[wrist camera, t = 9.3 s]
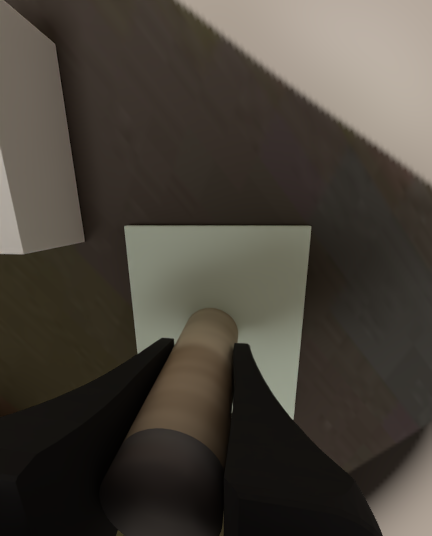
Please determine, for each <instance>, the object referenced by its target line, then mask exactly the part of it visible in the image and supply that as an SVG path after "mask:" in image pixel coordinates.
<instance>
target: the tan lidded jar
mask: <svg viewBox="0 0 432 536" xmlns="http://www.w3.org/2000/svg"><path fill="white" fill-rule="evenodd" d="M234 343H238V328H237V325H236V323H235V321H234V320H233V318H232V317H231V316H230V315H228V314H227V313H226V312H224V311H222V310H219V309H216V308H204V309H201V310H198V311H196V312H195V313H194V314H192V315H191V317H190V318H189V320H188V321H187V323H186V325H185V327H184V329H183V331H182V333H181V334H180V336H179V338H178V340H177V342H176V344H175V346H174V348H173V349H172V351H171V353H170V355H169V357H168V359H167V361H166V362H165V364H164V366H163V368H162V370H161V372H160V374H159V376H158V377H157V379H156V381H155V383H154V385H153V387H152V389H151V391H150V392H149V394H148V396H147V398H146V400H145V402H144V404H143V406H142V407H141V409H140V411H139V413H138V415H137V417H136V419H135V421H134V422H133V424H132V426H131V428H130V430H129V432H128V434H127V436H126V437H125V439H124V441H123V443H122V445H121V447H120V449H119V450H118V452H117V454H116V456H115V458H114V460H113V462H112V464H111V465H110V467H109V469H108V471H107V473H106V475H105V477H104V479H103V480H102V483H101V485H100V490H99V498H100V503H101V506H102V509H103V511H104V513H105V515H106V516H107V518H108V519H109V520H110V522H111V523H112V524H113V525H114V526H115V527H116V528H117V529H118V530H119V531H120V532H121V533H123V534H124V535H125V536H219V534H220V532H221V529H222V523H223V511H224V473H225V466H226V459H227V451H228V444H229V435H230V427H231V415H232V403H233V349H234Z"/></svg>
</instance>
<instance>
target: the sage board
mask: <svg viewBox="0 0 432 536" xmlns="http://www.w3.org/2000/svg"><path fill="white" fill-rule="evenodd" d="M124 230H125V239H126V249H127V258H128V268H129V277H130V286H131V296H132V305H133V315H134V324H135V334H136V343H137V352H138V353H140V352H141V351H143V350H144V349H146V348H147V347H149V346H150V345H151V344H153V343H154V342H156V341H157V340H159V339H161V338H174V346H175V344H176V342H177V340H178V338H179V336H180V334H181V333H182V331H183V329H184V327H185V325H186V323H187V321H188V320H189V318H190V317H191V315H192V314H194V313H195V312H196V311H198V310H201V309H204V308H216V309H219V310H222V311H224V312H226V313H227V314H228V315H230V316H231V317H232V318H233V320H234V321H235V323H236V325H237V328H238V343H246V344H249V345H250V349H251V352H252V355H253V357H254V360H255V362H256V364H257V367H258V368H259V370H260V372H261V374H262V376H263V378H264V380H265V382H266V383H267V385H268V386H269V388H270V390H271V391H272V393H273V394H274V396H275V397H276V399H277V400H278V402H279V403H280V404H281V406H282V407H283V408H284V410H285V411H286V412H287V413H288V415H289V416H290V417H291V418H292V419H294V409H295V398H296V387H297V376H298V366H299V355H300V344H301V333H302V323H303V312H304V301H305V290H306V280H307V269H308V258H309V247H310V237H311V226H309V225H128V226H124ZM232 409H233V403H232Z"/></svg>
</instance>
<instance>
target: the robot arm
mask: <svg viewBox="0 0 432 536" xmlns="http://www.w3.org/2000/svg"><path fill="white" fill-rule="evenodd" d="M173 348H174V338H161V339H159V340H157V341H156V342H154V343H153V344H151V345H150V346H149V347H147V348H146V349H144V350H143V351H141V352H140V353H138V354H137V355H135V356H134V357H132V358H131V359H129V360H128V361H126V362H125V363H123V364H121V365H120V366H118V367H116V368H115V369H113V370H112V371H110V372H108V373H106V374H105V375H103V376H101V377H99V378H97V379H95V380H93V381H91V382H90V383H88V384H86V385H84V386H81V387H79V388H77V389H75V390H72V391H70V392H68V393H66V394H63V395H61V396H59V397H57V398H54V399H52V400H49V401H46V402H44V403H41V404H39V405H36V406H33V407H30V408H27V409H25V410H22V411H19V412H16V413H13V414H9V415H6V416H3V417H0V536H116V534H117V530H118V529H117V528H116V527H115V526H114V525H113V524H112V523H111V522H110V520H109V519H108V518H107V516H106V515H105V513H104V511H103V509H102V506H101V503H100V498H99V490H100V485H101V483H102V480H103V479H104V477H105V475H106V473H107V471H108V469H109V467H110V465H111V464H112V462H113V460H114V458H115V456H116V454H117V452H118V450H119V449H120V447H121V445H122V443H123V441H124V439H125V437H126V436H127V434H128V432H129V430H130V428H131V426H132V424H133V422H134V421H135V419H136V417H137V415H138V413H139V411H140V409H141V407H142V406H143V404H144V402H145V400H146V398H147V396H148V394H149V392H150V391H151V389H152V387H153V385H154V383H155V381H156V379H157V377H158V376H159V374H160V372H161V370H162V368H163V366H164V364H165V362H166V361H167V359H168V357H169V355H170V353H171V351H172V349H173ZM224 536H383V535H382V533H381V530H380V528H379V526H378V523H377V521H376V519H375V517H374V515H373V513H372V511H371V509H370V507H369V505H368V503H367V501H366V499H365V497H364V496H363V494H362V492H361V490H360V488H359V486H358V485H357V483H356V481H355V480H354V479H353V478H352V477H351V476H350V475H349V474H348V473H346V472H345V471H344V470H343V469H342V468H341V467H340V466H338V465H337V464H336V463H335V462H334V461H333V460H332V459H330V458H329V457H328V456H327V455H326V454H325V453H324V452H323V451H321V450H320V449H319V448H318V447H317V446H316V445H315V444H314V443H313V442H312V441H311V440H310V439H309V437H308V436H307V435H306V434H305V433H304V432H303V431H302V430H301V428H300V427H299V426H298V425H297V424H296V423H295V422H294V421H293V420H292V418H291V417H290V416H289V415H288V413H287V412H286V411H285V410H284V408H283V407H282V406H281V404H280V403H279V402H278V400H277V399H276V397H275V396H274V394H273V393H272V391H271V390H270V388H269V386H268V385H267V383H266V382H265V380H264V378H263V376H262V374H261V372H260V370H259V368H258V367H257V364H256V362H255V360H254V357H253V355H252V352H251V349H250V345H249V344H246V343H234V349H233V409H232V418H231V427H230V435H229V444H228V451H227V459H226V466H225V473H224Z"/></svg>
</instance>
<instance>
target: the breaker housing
mask: <svg viewBox="0 0 432 536" xmlns="http://www.w3.org/2000/svg"><path fill="white" fill-rule="evenodd" d="M82 242H85V239H84V232H83V225H82V219H81V212H80V205H79V199H78V192H77V185H76V179H75V172H74V165H73V159H72V152H71V145H70V139H69V132H68V125H67V119H66V112H65V105H64V99H63V92H62V85H61V79H60V72H59V65H58V59H57V52H56V45H55V43H53V42H52V41H51V40H50V39H49V38H48V37H46V36H45V35H44V34H43V33H42V32H41V31H39V30H38V29H37V28H36V27H35V26H33V25H32V24H31V23H30V22H29V21H28V20H26V19H25V18H24V17H23V16H22V15H21V14H19V13H18V12H17V11H16V10H15V9H13V8H12V7H11V6H10V5H9V4H8V3H6V2H5V1H4V0H0V254H28V253H33V252H37V251H42V250H47V249H52V248H57V247H62V246H67V245H72V244H77V243H82Z"/></svg>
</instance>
